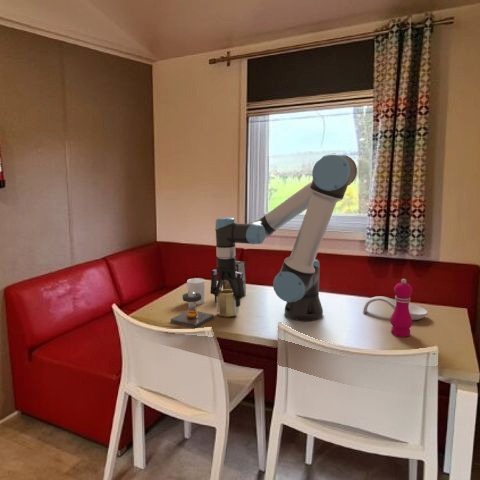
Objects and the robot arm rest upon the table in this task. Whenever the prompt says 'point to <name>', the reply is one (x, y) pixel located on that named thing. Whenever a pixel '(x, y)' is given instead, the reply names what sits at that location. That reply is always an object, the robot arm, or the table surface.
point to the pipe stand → (192, 315)
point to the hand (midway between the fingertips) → (227, 312)
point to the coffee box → (239, 268)
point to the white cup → (197, 287)
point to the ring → (191, 299)
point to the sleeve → (225, 302)
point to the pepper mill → (402, 310)
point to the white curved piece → (414, 310)
